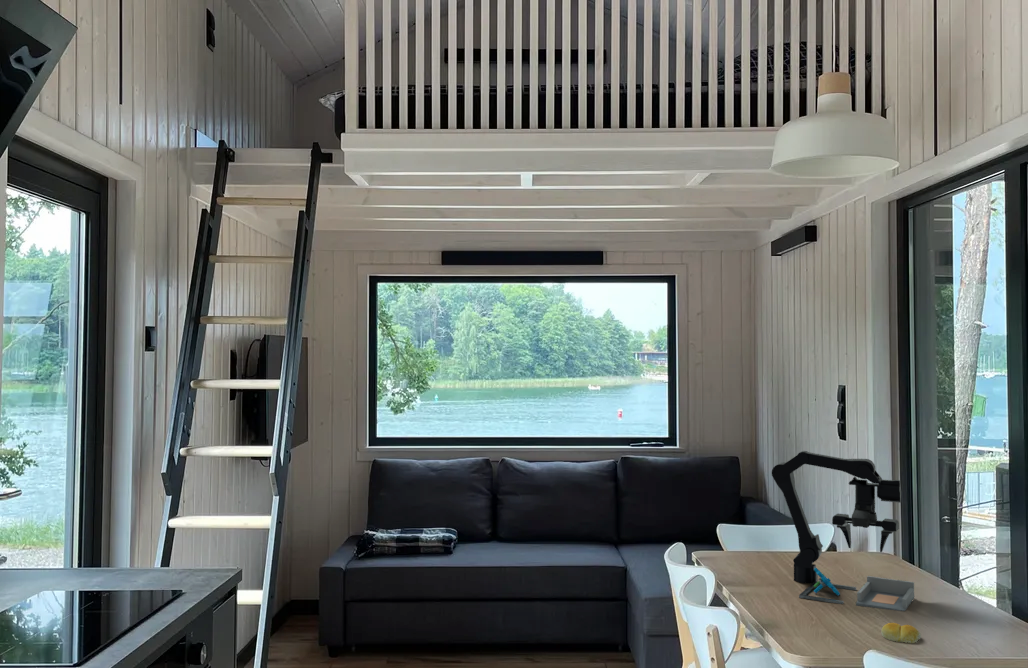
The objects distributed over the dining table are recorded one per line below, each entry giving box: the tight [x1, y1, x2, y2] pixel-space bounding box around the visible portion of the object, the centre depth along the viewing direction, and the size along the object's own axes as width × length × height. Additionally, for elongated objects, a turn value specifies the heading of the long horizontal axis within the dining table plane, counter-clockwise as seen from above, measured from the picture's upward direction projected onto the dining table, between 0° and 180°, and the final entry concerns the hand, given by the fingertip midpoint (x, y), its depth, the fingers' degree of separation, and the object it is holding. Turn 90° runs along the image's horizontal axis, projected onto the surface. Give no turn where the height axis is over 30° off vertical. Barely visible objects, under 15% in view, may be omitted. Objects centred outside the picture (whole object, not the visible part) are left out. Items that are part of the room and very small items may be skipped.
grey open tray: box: [855, 575, 915, 612], centre depth 247 cm, size 13×18×5 cm
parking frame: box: [798, 581, 857, 605], centre depth 255 cm, size 12×19×1 cm, turn 147°
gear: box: [813, 567, 841, 596], centre depth 256 cm, size 11×6×10 cm
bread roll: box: [881, 622, 922, 644], centre depth 212 cm, size 8×9×4 cm
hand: (865, 549), depth 262 cm, fingers open, 9 cm apart
